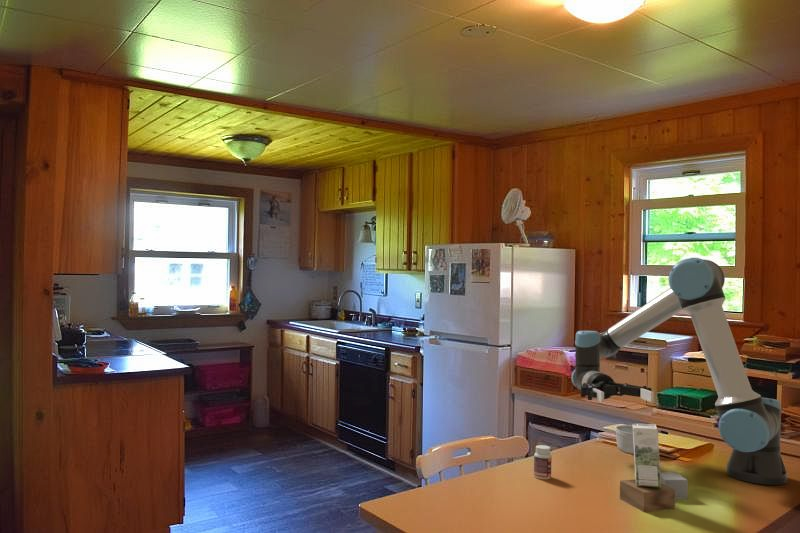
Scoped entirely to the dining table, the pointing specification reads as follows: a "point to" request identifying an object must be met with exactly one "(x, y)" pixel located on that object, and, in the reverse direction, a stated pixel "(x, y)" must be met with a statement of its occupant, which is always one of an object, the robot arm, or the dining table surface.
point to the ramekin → (625, 438)
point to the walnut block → (647, 496)
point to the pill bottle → (542, 462)
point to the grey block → (675, 483)
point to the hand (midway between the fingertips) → (627, 397)
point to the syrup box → (646, 455)
